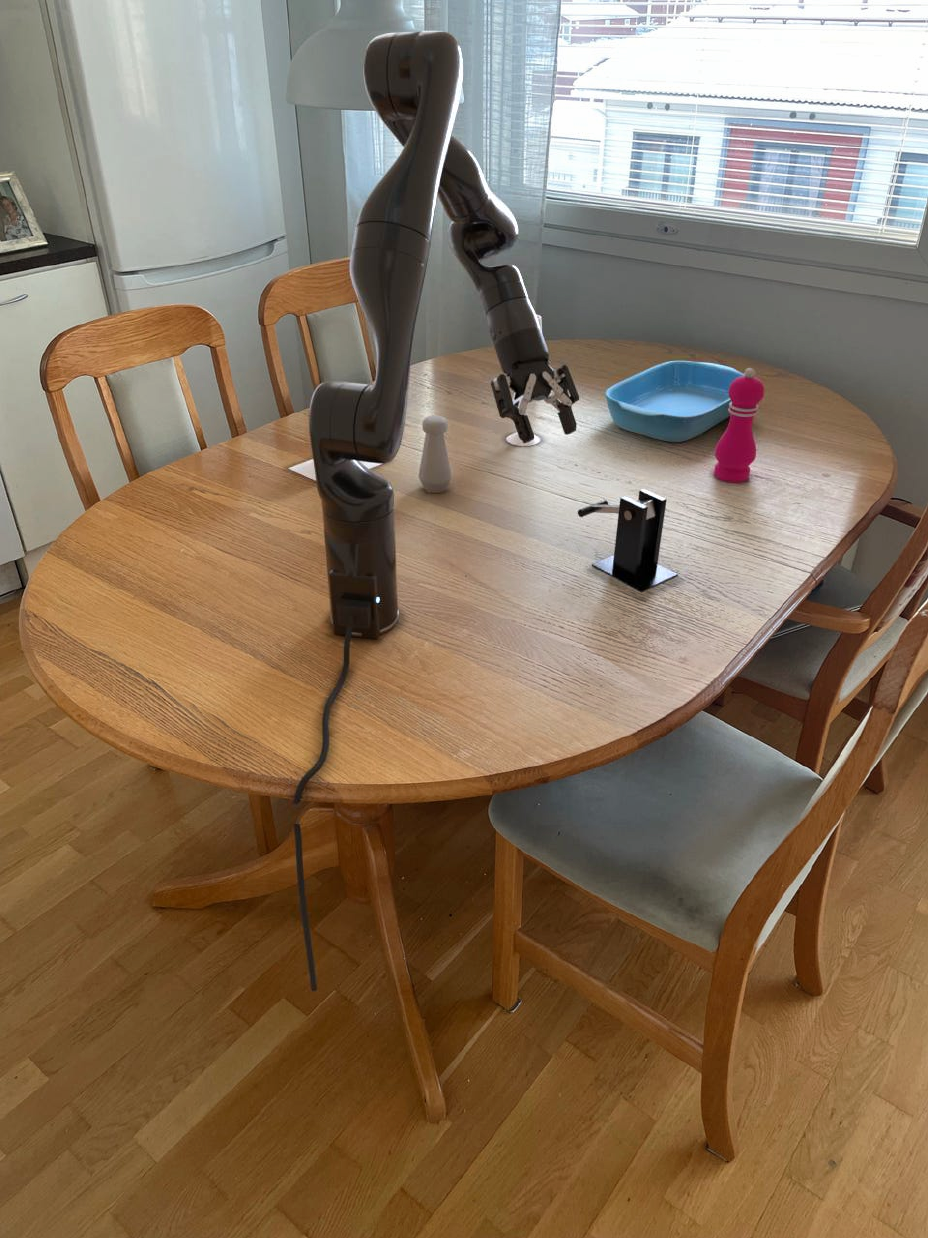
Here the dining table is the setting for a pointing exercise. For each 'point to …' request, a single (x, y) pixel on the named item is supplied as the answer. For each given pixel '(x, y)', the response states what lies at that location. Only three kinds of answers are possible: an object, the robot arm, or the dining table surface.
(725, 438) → the pepper mill
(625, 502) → the black lever stand
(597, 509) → the lever with crossbar handle
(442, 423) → the salt shaker
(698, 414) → the casserole dish
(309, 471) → the napkin holder
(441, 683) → the dining table surface
